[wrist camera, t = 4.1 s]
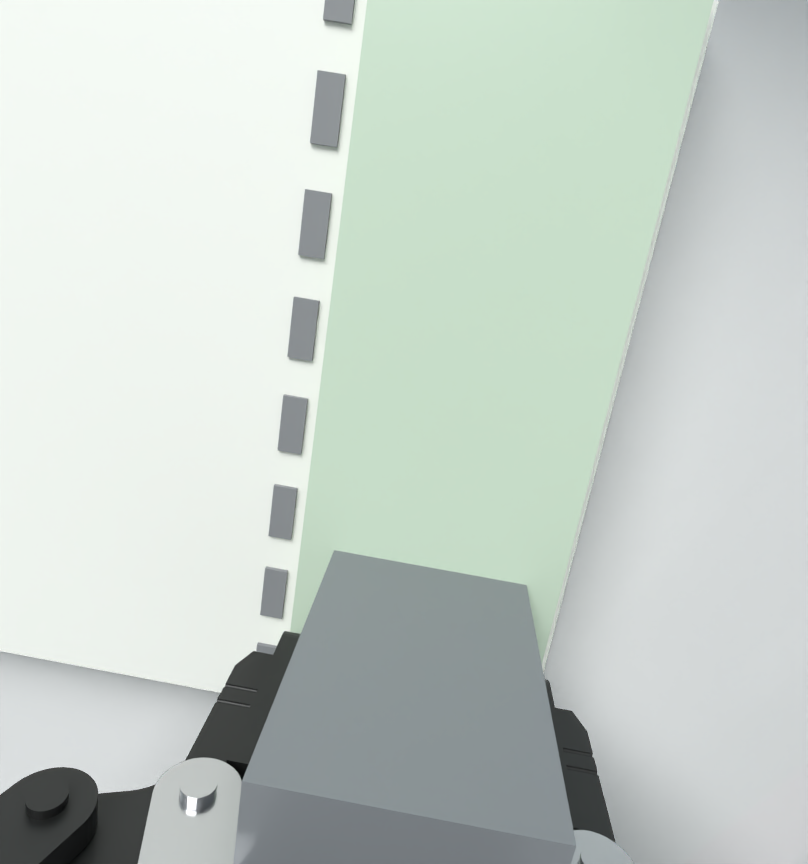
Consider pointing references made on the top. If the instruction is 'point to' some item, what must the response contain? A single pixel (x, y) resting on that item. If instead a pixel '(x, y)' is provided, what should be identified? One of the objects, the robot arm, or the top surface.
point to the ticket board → (170, 320)
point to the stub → (463, 421)
